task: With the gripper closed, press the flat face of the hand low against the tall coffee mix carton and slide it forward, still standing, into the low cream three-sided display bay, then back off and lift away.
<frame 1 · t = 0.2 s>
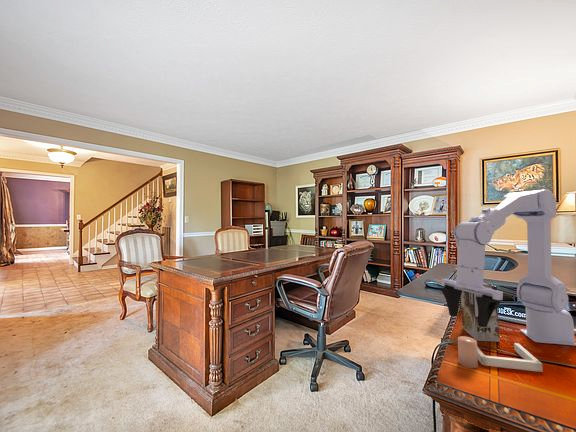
hand: (467, 320, 66), 10 cm above the table, tool pointing down, fingers open, 7 cm apart
display bay: (501, 357, 67), on the table
coffee box: (480, 335, 80), on the table
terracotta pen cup: (468, 363, 65), on the table
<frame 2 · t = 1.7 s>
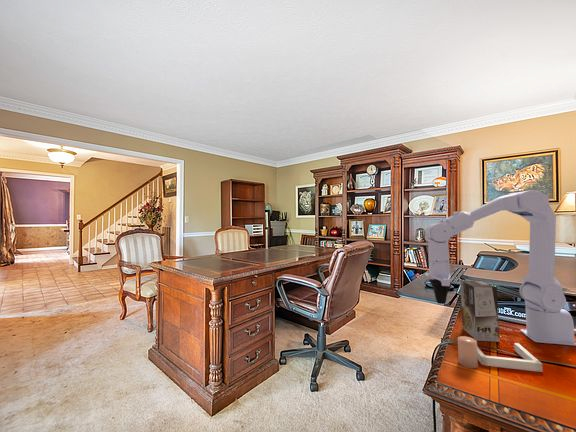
hand: (440, 302, 82), 9 cm above the table, tool pointing down, fingers closed
nothing on the table moved.
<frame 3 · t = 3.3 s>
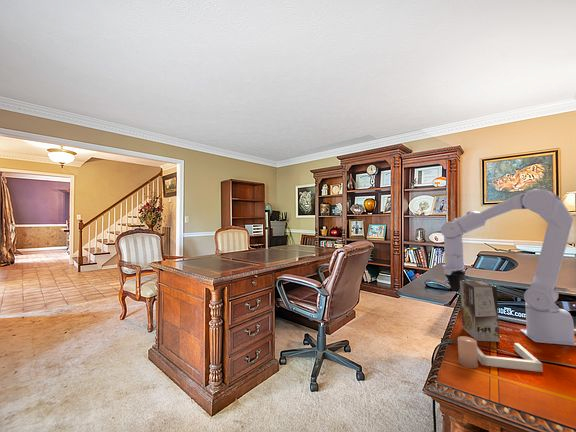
hand: (455, 291, 94), 9 cm above the table, tool pointing down, fingers closed
nothing on the table moved.
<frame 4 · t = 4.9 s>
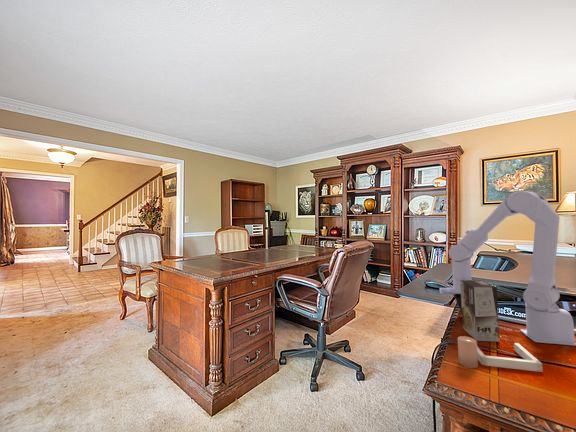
hand: (463, 314, 93), 1 cm above the table, tool pointing down, fingers closed
nothing on the table moved.
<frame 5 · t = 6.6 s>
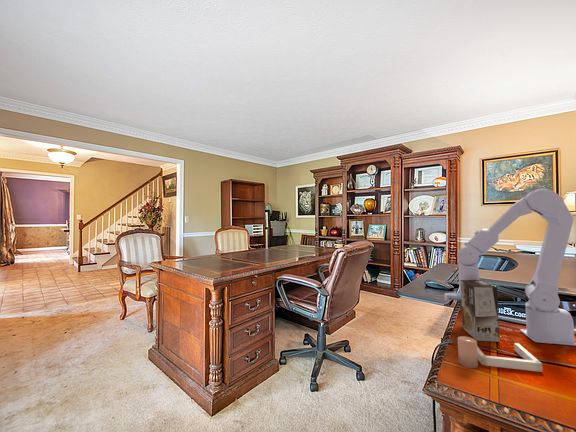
hand: (471, 322, 86), 1 cm above the table, tool pointing down, fingers closed
coffee box: (480, 335, 80), on the table, touching arm, gripper
everything else where it was.
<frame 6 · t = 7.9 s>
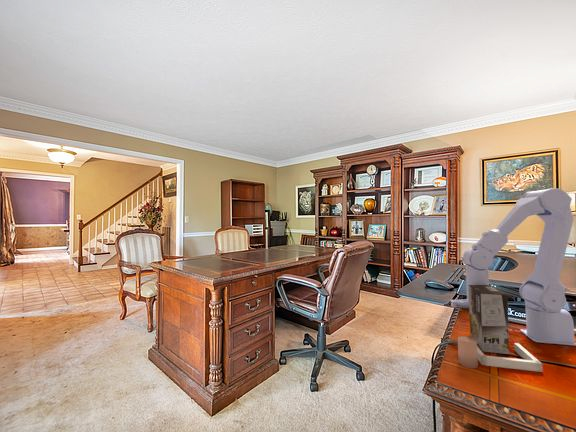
hand: (479, 331, 80), 1 cm above the table, tool pointing down, fingers closed, pressing on coffee box
coffee box: (488, 345, 73), on the table, touching gripper
everything else where it was.
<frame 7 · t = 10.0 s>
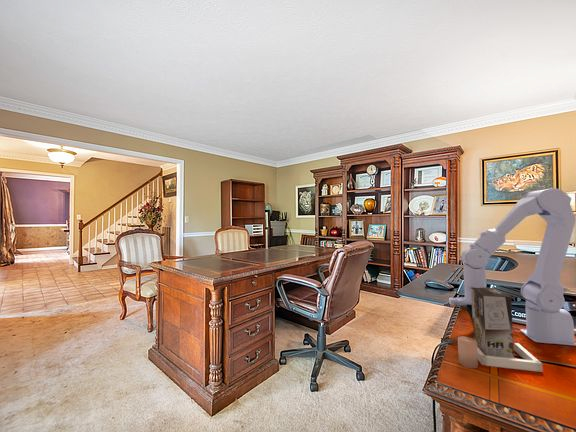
hand: (477, 328, 82), 1 cm above the table, tool pointing down, fingers closed
coffee box: (492, 350, 71), on the table
everything else where it was.
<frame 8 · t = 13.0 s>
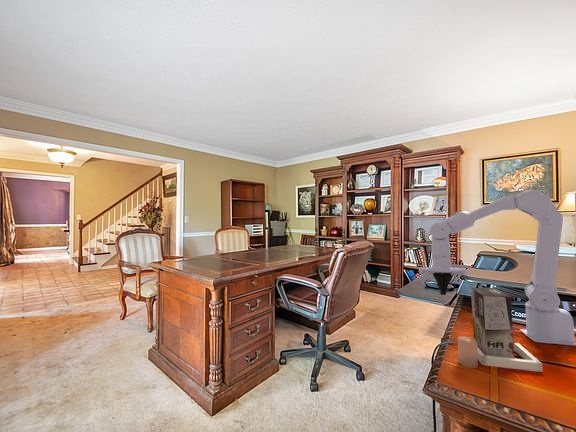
hand: (442, 294, 91), 9 cm above the table, tool pointing down, fingers closed
nothing on the table moved.
at the end: coffee box 2.4 cm from the target spot, on the table; coffee box tilted 0°; coffee box moved 9.4 cm from its start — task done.
